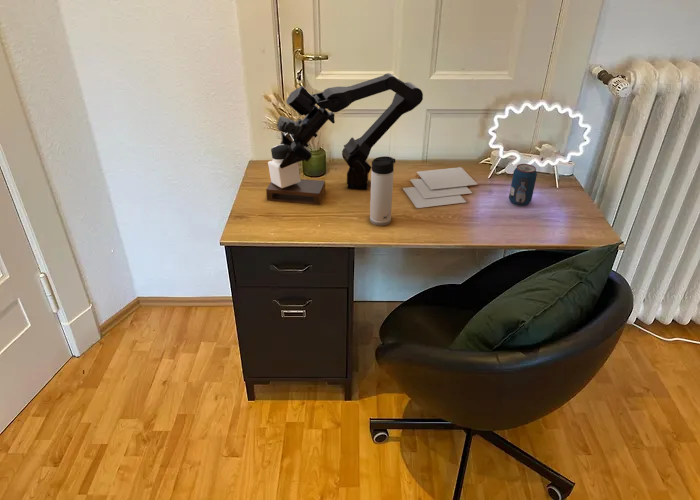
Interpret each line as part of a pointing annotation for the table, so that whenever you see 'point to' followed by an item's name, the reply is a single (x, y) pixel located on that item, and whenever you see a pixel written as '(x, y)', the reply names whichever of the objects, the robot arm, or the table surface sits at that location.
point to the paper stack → (439, 187)
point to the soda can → (522, 185)
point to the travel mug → (381, 190)
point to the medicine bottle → (282, 175)
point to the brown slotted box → (298, 192)
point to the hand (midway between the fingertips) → (278, 162)
